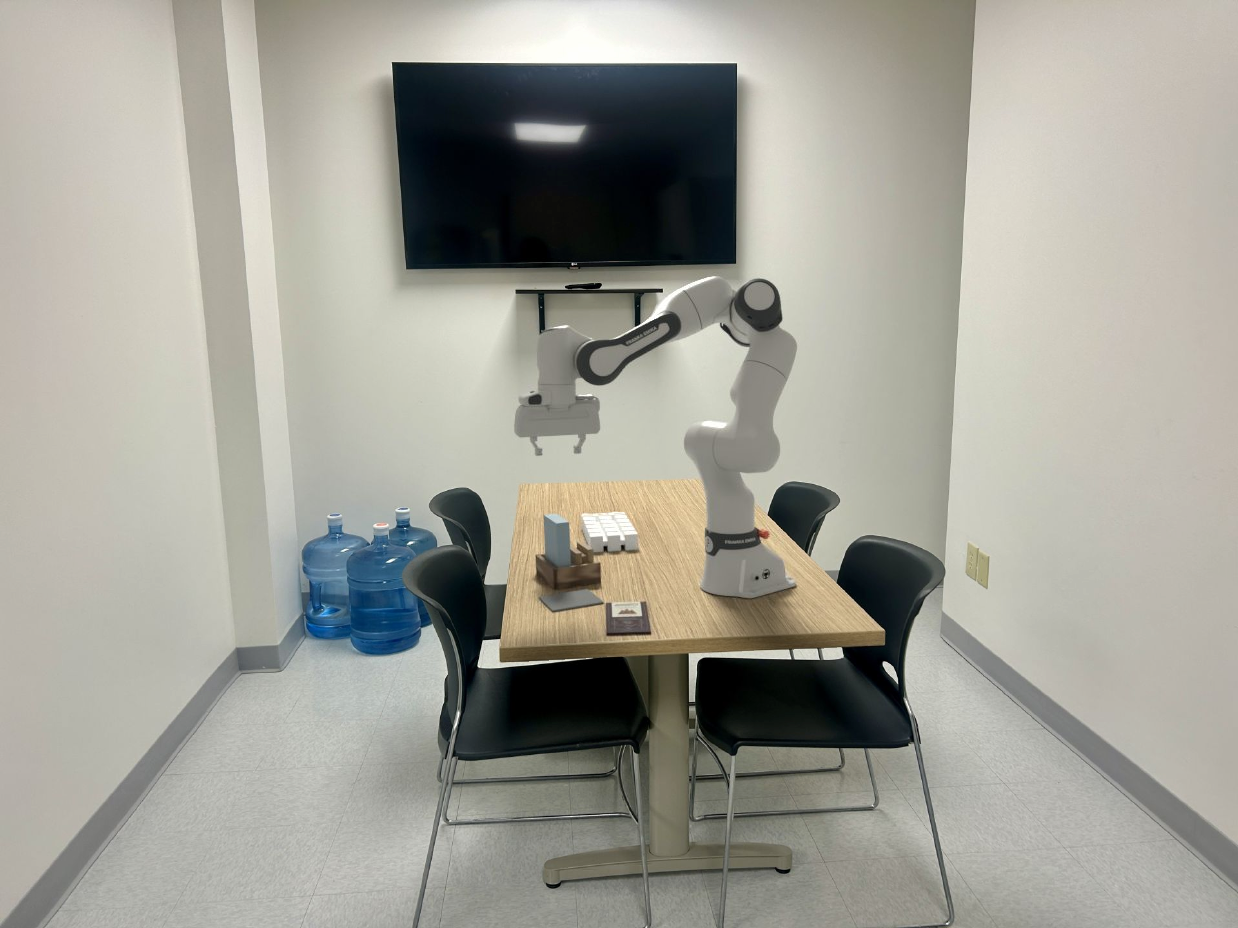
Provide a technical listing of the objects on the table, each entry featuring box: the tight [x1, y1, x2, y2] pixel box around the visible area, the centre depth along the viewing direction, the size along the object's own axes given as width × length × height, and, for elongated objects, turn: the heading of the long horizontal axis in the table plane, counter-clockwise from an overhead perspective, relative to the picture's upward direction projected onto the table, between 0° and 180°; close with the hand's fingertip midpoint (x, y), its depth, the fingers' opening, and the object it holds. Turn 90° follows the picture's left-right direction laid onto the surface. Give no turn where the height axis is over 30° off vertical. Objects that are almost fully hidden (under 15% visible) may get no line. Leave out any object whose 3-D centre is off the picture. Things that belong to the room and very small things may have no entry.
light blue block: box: [543, 513, 571, 568], centre depth 200 cm, size 3×10×14 cm, turn 23°
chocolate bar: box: [605, 601, 652, 637], centre depth 174 cm, size 9×1×18 cm
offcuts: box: [570, 540, 595, 566], centre depth 203 cm, size 4×10×6 cm, turn 23°
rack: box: [535, 552, 602, 591], centre depth 202 cm, size 12×14×5 cm
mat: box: [538, 588, 605, 613], centre depth 186 cm, size 12×10×1 cm
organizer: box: [581, 511, 639, 553], centre depth 242 cm, size 13×5×35 cm
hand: (558, 454), depth 194 cm, fingers open, 8 cm apart
